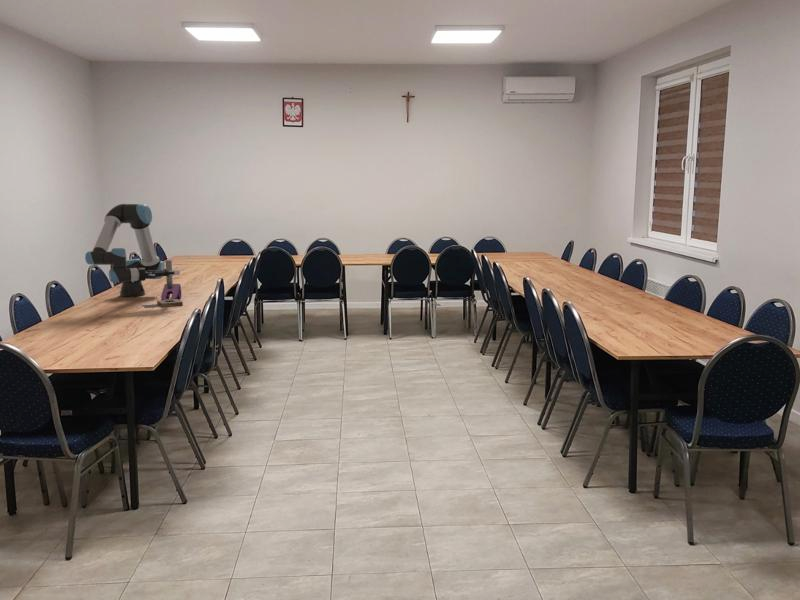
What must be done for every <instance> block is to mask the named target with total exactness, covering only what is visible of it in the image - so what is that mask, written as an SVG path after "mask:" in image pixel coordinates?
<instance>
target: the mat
mask: <svg viewBox="0 0 800 600" xmlns="http://www.w3.org/2000/svg"><path fill="white" fill-rule="evenodd" d="M141 306H142V307H143V308H145V309H151V308H160V306H159V305H158V304H156V303H155V304H154V303H153V304H144V305H141Z"/></svg>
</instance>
